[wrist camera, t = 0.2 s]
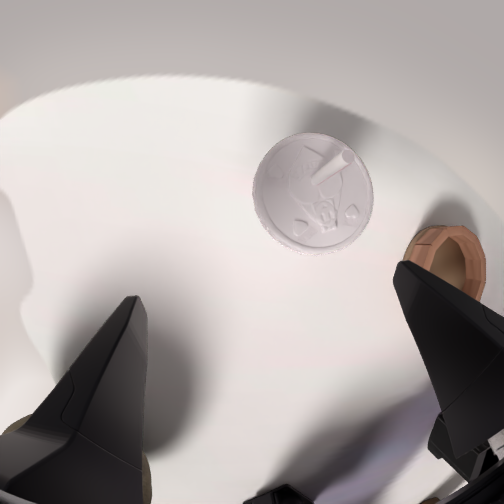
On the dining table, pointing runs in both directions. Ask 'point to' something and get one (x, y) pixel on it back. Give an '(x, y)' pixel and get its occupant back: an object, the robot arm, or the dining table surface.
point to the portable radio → (443, 449)
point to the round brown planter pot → (451, 257)
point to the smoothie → (313, 194)
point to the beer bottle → (431, 501)
